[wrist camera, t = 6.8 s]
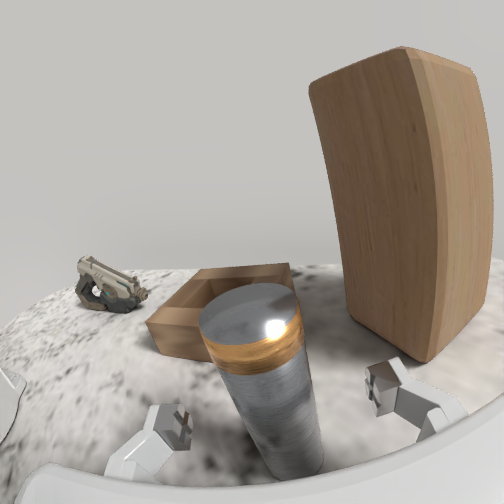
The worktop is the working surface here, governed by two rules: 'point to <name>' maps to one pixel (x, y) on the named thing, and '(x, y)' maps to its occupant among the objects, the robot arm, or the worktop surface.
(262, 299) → the grey metal cylinder
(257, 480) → the worktop surface
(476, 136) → the wooden block
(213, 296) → the bore block
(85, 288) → the futuristic pistol
